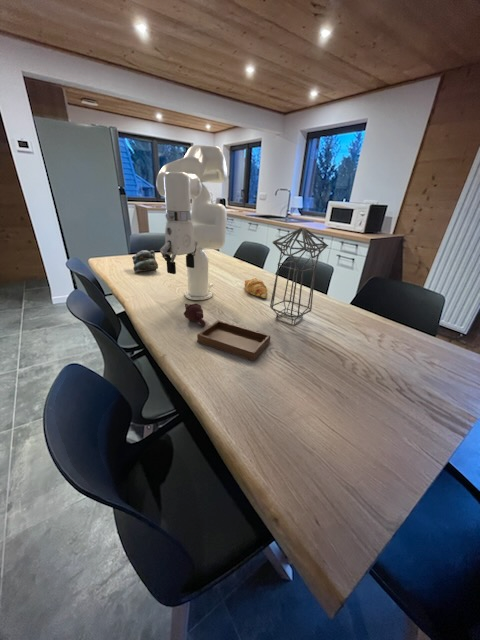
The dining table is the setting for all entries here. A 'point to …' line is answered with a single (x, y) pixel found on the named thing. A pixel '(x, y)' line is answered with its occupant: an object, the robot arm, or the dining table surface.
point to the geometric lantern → (276, 243)
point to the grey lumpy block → (144, 261)
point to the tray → (234, 339)
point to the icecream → (194, 313)
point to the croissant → (256, 287)
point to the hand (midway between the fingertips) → (181, 270)
